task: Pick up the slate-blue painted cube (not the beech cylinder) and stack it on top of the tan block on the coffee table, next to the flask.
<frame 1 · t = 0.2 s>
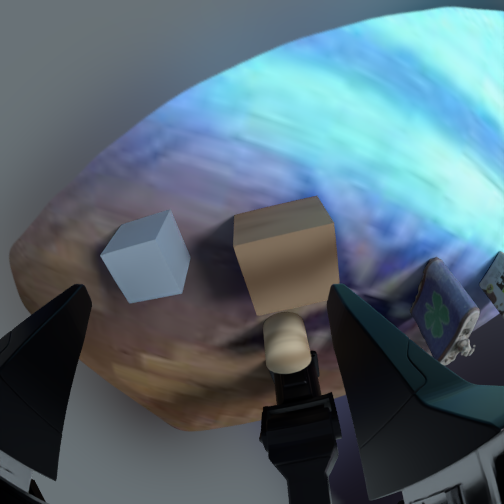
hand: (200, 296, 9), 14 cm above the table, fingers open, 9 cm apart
tan block: (283, 239, 25), on the table
flask: (425, 286, 29), on the table
coffee box: (499, 272, 29), on the table
beech cylinder: (283, 326, 31), on the table
blue cube: (155, 240, 24), on the table
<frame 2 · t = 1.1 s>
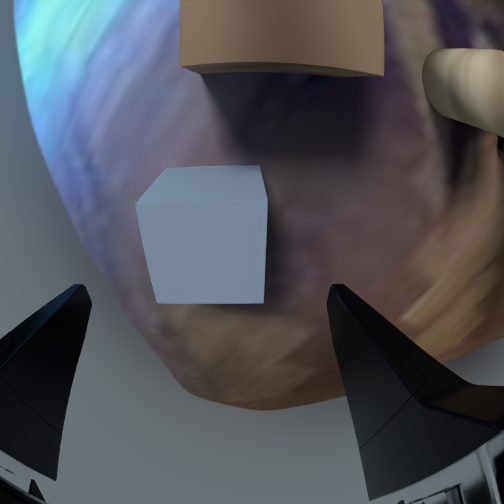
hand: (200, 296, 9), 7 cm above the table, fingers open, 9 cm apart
tan block: (271, 12, 10), on the table
beech cylinder: (449, 83, 11), on the table
blue cube: (213, 208, 16), on the table
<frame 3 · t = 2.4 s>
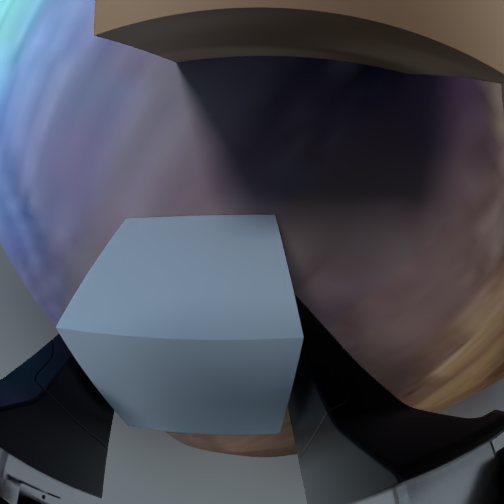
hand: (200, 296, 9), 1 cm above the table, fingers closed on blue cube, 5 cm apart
blue cube: (203, 277, 10), on the table, touching gripper
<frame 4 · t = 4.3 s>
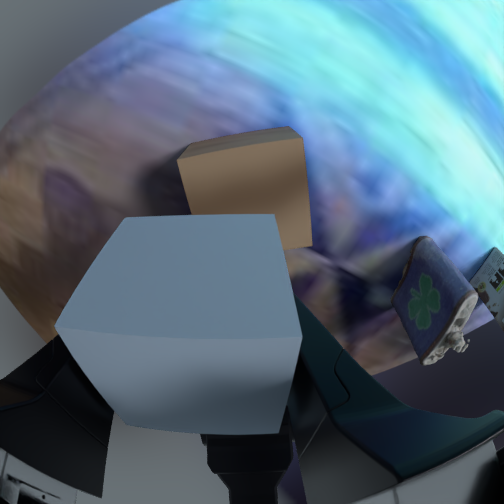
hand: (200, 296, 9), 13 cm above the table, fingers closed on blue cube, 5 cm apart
tan block: (247, 178, 20), on the table
flask: (410, 271, 26), on the table
coffee box: (492, 273, 27), on the table
blue cube: (202, 277, 10), point 12 cm above the table, touching gripper
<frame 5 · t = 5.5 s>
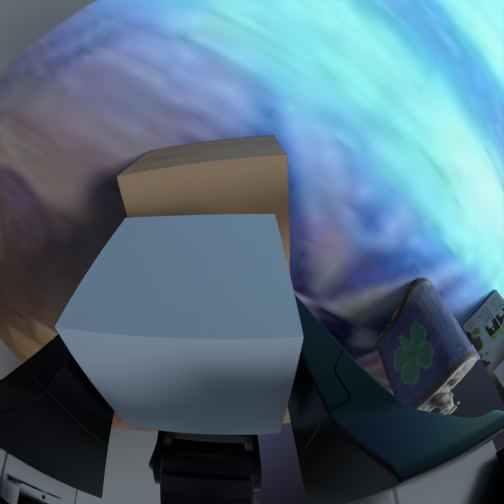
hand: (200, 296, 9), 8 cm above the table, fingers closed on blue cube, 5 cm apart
tan block: (217, 197, 16), on the table
flask: (401, 314, 23), on the table
coffee box: (487, 315, 25), on the table
blue cube: (203, 277, 10), point 7 cm above the table, touching gripper
when the fingers open (7 cm above the table, at t = 6.2 s): blue cube drops 1 cm, point 5 cm above the table.
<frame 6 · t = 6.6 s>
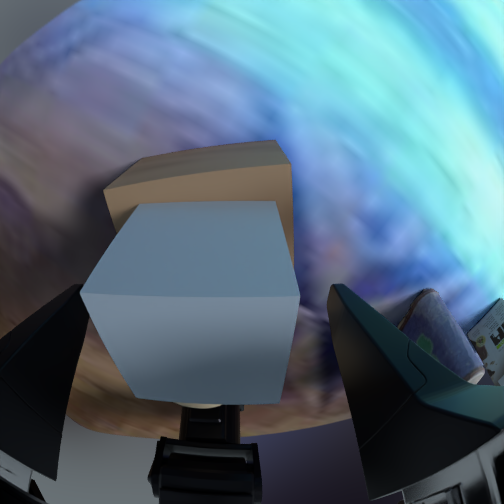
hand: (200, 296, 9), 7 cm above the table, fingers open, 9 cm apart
tan block: (215, 207, 15), on the table
flask: (406, 325, 22), on the table
coffee box: (491, 323, 24), on the table
blue cube: (209, 259, 11), point 5 cm above the table
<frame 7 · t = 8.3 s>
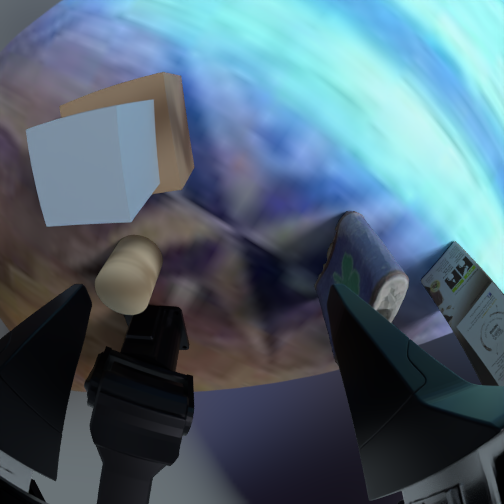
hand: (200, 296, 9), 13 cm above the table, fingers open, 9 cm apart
tan block: (142, 130, 18), on the table, touching blue cube
flask: (338, 254, 25), on the table
coffee box: (452, 274, 27), on the table
beech cylinder: (138, 257, 24), on the table
blue cube: (116, 146, 14), point 5 cm above the table, touching tan block
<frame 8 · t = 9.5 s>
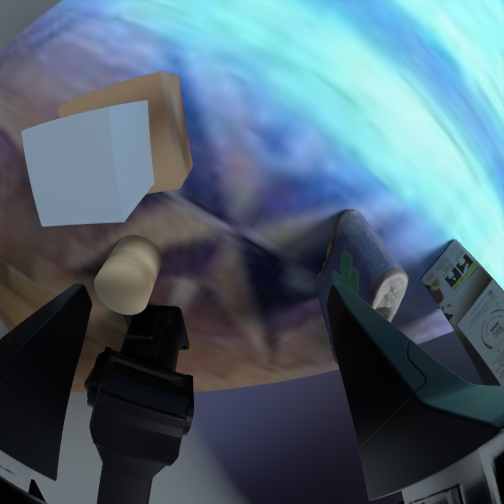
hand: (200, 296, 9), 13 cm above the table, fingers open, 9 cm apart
tan block: (141, 130, 18), on the table, touching blue cube
flask: (337, 253, 25), on the table
coffee box: (452, 272, 27), on the table
beech cylinder: (137, 257, 24), on the table
blue cube: (111, 147, 14), point 5 cm above the table, touching tan block
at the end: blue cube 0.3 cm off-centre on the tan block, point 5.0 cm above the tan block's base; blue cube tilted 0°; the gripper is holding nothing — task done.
